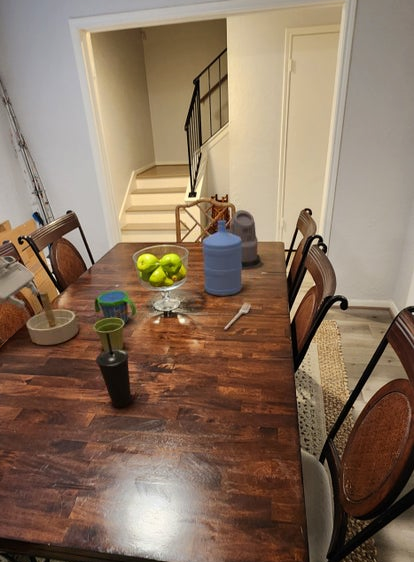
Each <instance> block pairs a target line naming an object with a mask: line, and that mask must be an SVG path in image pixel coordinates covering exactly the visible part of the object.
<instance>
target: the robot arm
mask: <svg viewBox="0 0 414 562" xmlns="http://www.w3.org/2000/svg"><path fill="white" fill-rule="evenodd" d="M34 279H35V274H34V273H33V272H32V271H31V270H29V268H27V267H26V266H25V265H23V264H22V263H20V262H18V261H17V260H16V258H15V257H14V256H12V255H7V256H0V306H1V305H3V304H5V302H7V303H8V304H9V305H10V304H11V305H14V306H16V307H18V308H19V309H22V308H23V307H25V305H26V302H25V301H23V300H22V299H17V298H15V295H17V294H18V293H19V292H20V291H22V290H23V289H25V288H26V289H28V290H30V291H31V295H32V296H34V297H37V296H38V295H40V292H41V291H40V289H38V288H36V285H35V283H34V282H33V281H34Z"/></svg>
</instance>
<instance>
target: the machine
mask: <svg viewBox="0 0 414 562" xmlns="http://www.w3.org/2000/svg"><path fill="white" fill-rule="evenodd" d="M226 232H228V233H231V234H233V235H235V236H238V237H240V238H241V240H242V261H241V263H242V270H251V269H257V268H259V267H261V266H262V265H263V264H262V262H261V256H260V255H259V254H258V244H259V243H258V237H257V234H256V222H255V219H254V216H253V215H252V214H251V213H250V212H249V211H248V210H244V209H238V210H237V211H235V212H234V214H233V217H232V218H231V220H230V221H229V228H226Z"/></svg>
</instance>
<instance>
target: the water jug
mask: <svg viewBox="0 0 414 562" xmlns="http://www.w3.org/2000/svg"><path fill="white" fill-rule="evenodd" d="M226 229H227V225H226V220H224V219H221V220H217V231H216V232H215V233H213V234H211V235H209V236H207V237H205V238H203V240H202V253H203V273H204V290H205V292H206V293H208V294H209V295H212V296H218V297H227V296H232V295H235V294H238V293H240V291H242V288H243V287H242V286H243V283H242V270H243V269H242V263H241V261H242V240H241V238H240V237H238V236H235V235H233V234H231V233H228V232H226Z"/></svg>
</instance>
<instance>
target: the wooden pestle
mask: <svg viewBox="0 0 414 562" xmlns="http://www.w3.org/2000/svg"><path fill="white" fill-rule="evenodd" d="M39 296H40V299H41V303H42V307H43V309H44V312H45V313H46V317H47V320H48V323H49V324H48V325H47V326H46V327H47V329H50V328H55V327H58V326H60V324H59V323H57V322H56V321H55V317H54V314H53V310H54V309H53V307H52V303H51V300H50V297H49V294H48V291H46V290H45V291H40V293H39Z"/></svg>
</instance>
